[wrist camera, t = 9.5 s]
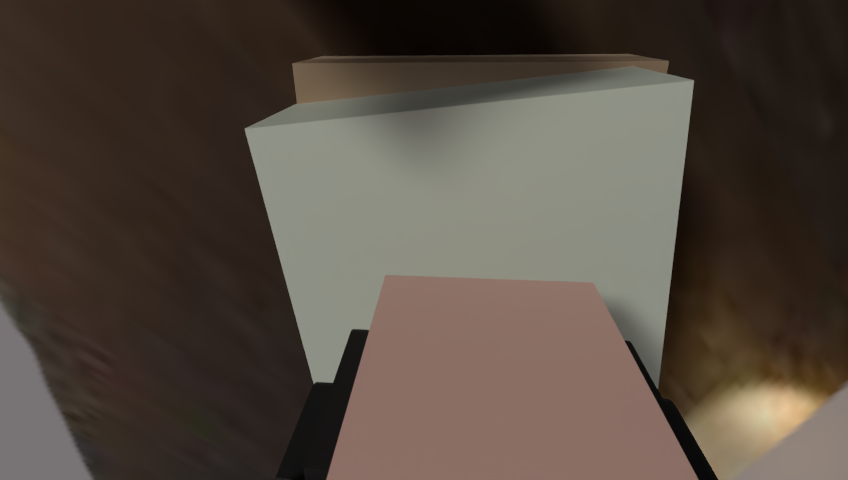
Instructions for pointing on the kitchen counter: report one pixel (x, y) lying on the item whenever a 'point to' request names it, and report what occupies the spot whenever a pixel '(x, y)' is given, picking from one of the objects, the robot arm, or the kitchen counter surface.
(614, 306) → the tower top
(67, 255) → the kitchen counter surface
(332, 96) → the tower base
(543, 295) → the pink block
